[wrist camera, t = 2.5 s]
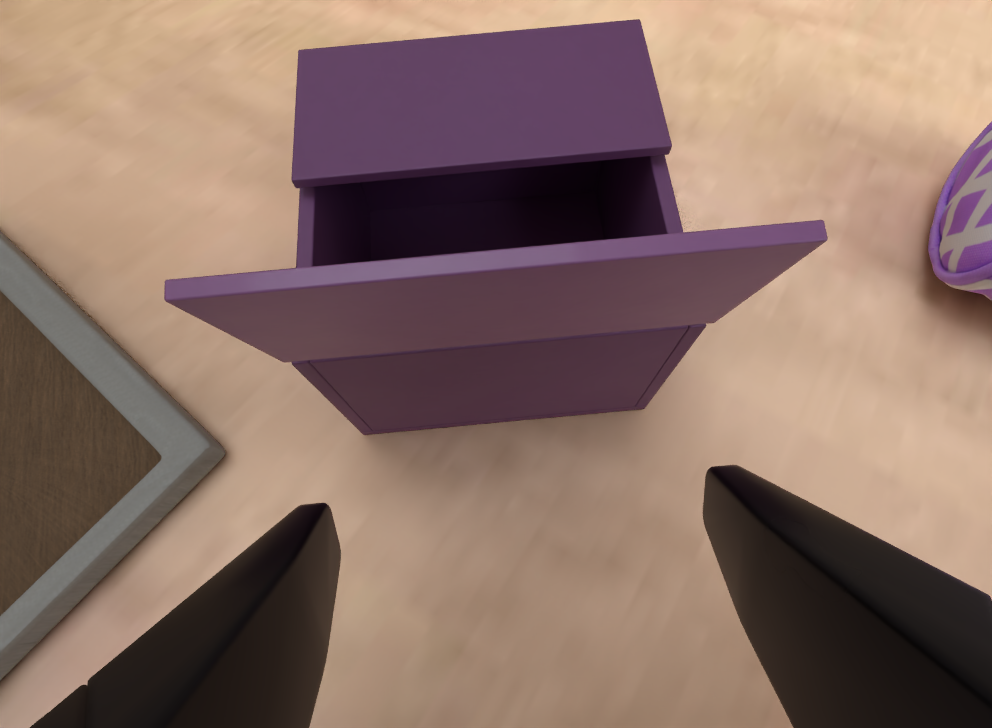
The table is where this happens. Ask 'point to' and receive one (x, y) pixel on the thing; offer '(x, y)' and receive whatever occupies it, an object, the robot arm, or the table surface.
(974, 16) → the table surface
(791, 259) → the flap
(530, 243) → the box
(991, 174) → the pencil case
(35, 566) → the grey rectangular tray
